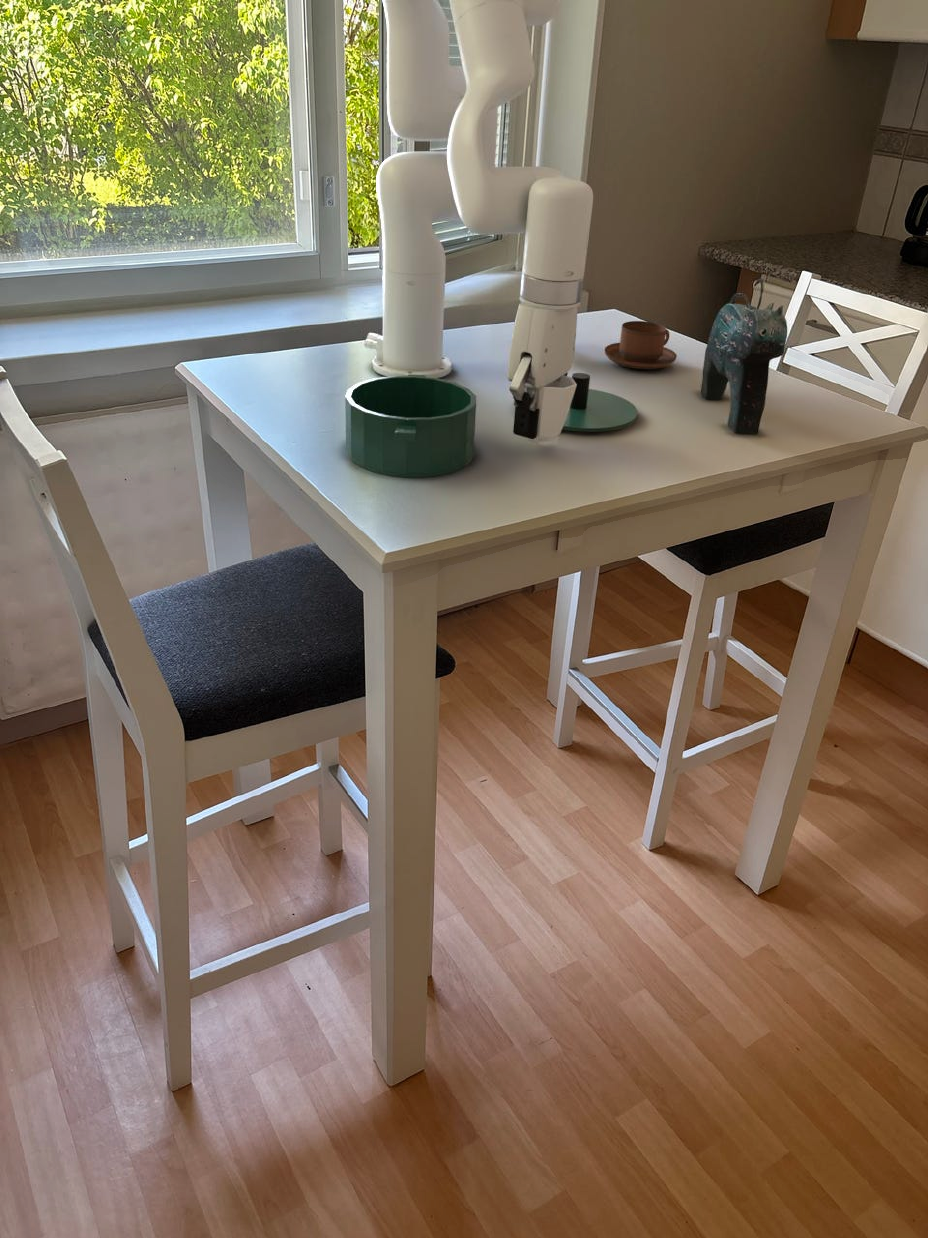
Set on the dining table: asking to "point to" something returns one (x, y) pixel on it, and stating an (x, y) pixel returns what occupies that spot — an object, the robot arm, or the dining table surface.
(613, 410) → the pot lid
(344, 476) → the dining table surface
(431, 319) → the robot arm
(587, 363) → the dining table surface
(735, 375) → the ceramic cat
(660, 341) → the cup and saucer
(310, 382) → the dining table surface
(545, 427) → the cup
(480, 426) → the dining table surface
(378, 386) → the pot
